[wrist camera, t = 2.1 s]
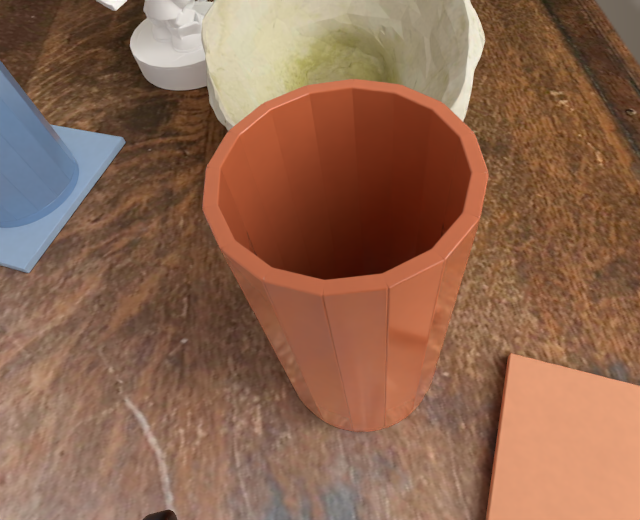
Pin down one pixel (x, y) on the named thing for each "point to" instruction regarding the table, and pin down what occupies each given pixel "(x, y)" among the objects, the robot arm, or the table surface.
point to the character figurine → (170, 42)
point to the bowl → (337, 48)
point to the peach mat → (565, 446)
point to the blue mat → (33, 239)
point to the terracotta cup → (350, 238)
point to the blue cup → (30, 159)
